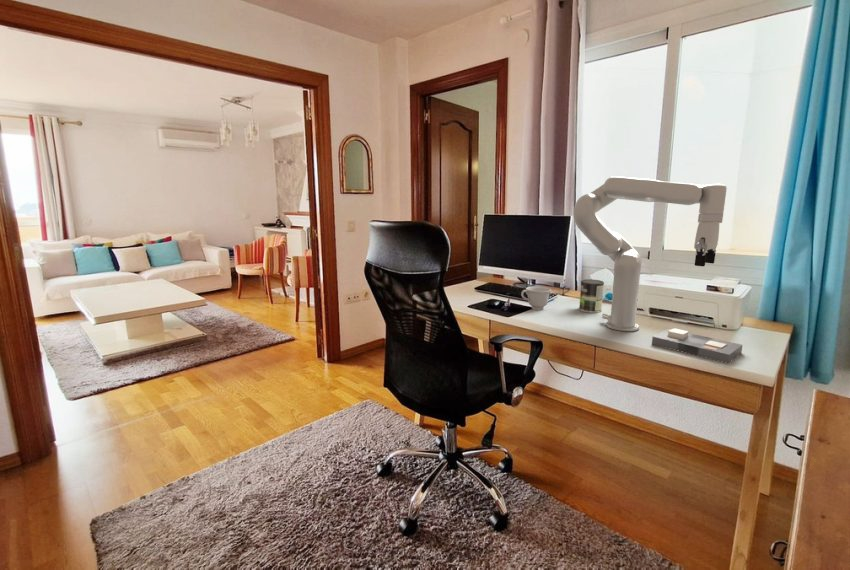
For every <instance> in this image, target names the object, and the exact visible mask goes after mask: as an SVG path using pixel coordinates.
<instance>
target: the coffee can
mask: <svg viewBox="0 0 850 570" xmlns="http://www.w3.org/2000/svg"><path fill="white" fill-rule="evenodd" d="M604 285H605V282H604V281H603V280H600V279H599V280H598V279H593V278H592V279H588V278H587V279H581V280H580V294H579V295H580V296H579V305H578V306H579V307H578V309H579V311H581V312H585V313H589V314H594V313H600V312H602V311H603V310H602V308H603V298H604V297H603V296H604Z"/></svg>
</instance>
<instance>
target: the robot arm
mask: <svg viewBox="0 0 850 570" xmlns="http://www.w3.org/2000/svg"><path fill="white" fill-rule="evenodd" d="M727 189H728V188H727V186H726V185H725V184H721V183H716V184H715V183H714V184H713V183H712V184H710V183H709V184H705V185H704V184H702V185H701V184H695V183H686V182H685V183H683V182H673V181H663V180H657V179H651V178H638V177H626V176H617V175H615V176H610V177H608V178H607V179H606V180H605V182H604V183H603V184H601V186H599V187H597V188H596V189H594V190H593V191H591V192H590V193H588V194H587V193H586V194H583V195H582V196H580V197H579V198H578V200H577V201H576V203H575V205H574V208H573V220H574V223H575V226H576V227H577V228H578V229H579V230H580V232H581V233H582V234H583V235H584V236H585V237H586V238H587V239H588V240H589V242H590V243H591V244H592V245H593V246H594V247H595V248H596V249H597V250H598V251H599V253H600V254H602V255H603V256H608V257H609V259H611V261H612V262H614V265H613V283H612V296H611V297H612V298H611V309H610V311H611V312H610V314H608V313H605V312H603V313H602V315H601V319H602V320H606V321H607V322H606V323H605V326H606V327H607V328H609V329H612V330H614V331H618V332H619V331H621V332H636V331H638V330H640V325H639V324H638V323H636V322H637V321H636V319H637V309H638V308H637V301H638V298H639V288H640V279H641V278H640V277H641V271H642V270H641V269H642V261H643V260H642V257H641V255H640V253H639V252H638V251H637V250H636V249H635V248H634V247H633V246H632V245H631V244H630V243H629V242H628V241H627V240H626V239H625V238H624V237H623V236H622V235H621V234H620V233H618V232H617V231H613V230H611V229H610V228H609V227H607V225H606V224H605V223H604V222H603V221H602V220H601V219H600V218H599V217H598V216H597V213H598V212H599V211H601V210H602V209H604V208H606V207H607V206H609V205H611V203H613V202H615V201H616V200H627V201H628V200H629V201H637V202H645V203H665V204H673V205H682V206H691V205H697V204H699V210H698V217H697V223H698V225H697V228H696V233H695V238H694V246H693V248H694V249H695V259H694V266H696V267H705V265H706V264H715V261H716V252H717V250H716V249H717V248H718V247H717V246H718V244H719V234H720V224H722V223H723V220H724V219H723V218H724V213H725V212H724V211H725V204H726V203H725V202H726V196H727Z"/></svg>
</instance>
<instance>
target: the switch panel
mask: <svg viewBox="0 0 850 570" xmlns="http://www.w3.org/2000/svg"><path fill="white" fill-rule="evenodd" d="M672 329H673V328H672ZM672 329H671V328H667V329H665V330H663V331H661V332H658V333H657V334H655V335H653V336H652V338H651V345H653V344H654V345H653V346H657V345H658V346H657V347H661V346H662V348H665V347H666V349H669V348H671V349H670V350H673V349H675V350H674V351H677V350H679V351H678V352H681V351H683V352H682V353H685V352H686V353H685V354H689V353H690V354H689V355H693V354H694V356H697V355H698V357H701V356H702V357H701V358H705V357H707V358H706V359H709V358H711V359H710V360H713V359H715V360H714V361H717V360H719V361H718V362H721V361H722V363H725V362H727V363H726V364H729V363H730V362H732V361H733V360H734V359H735V357H736V358H737V357H738V356H739V355H741V354H742V350H743V344H741V343H735V342H731V341H727V340H723V339H722V340H721V339H718V338H712V337H708V336H703V335H699V334H695V333H688V338H686V339H684V340H681V339H677V338H672V337H668V331H670V330H672ZM708 341H715V342H719V343H724V344H727V345H726V347H724V348H723V349H720V348H716V347H711V346H707V345H705V343H707V342H708ZM740 353H741V354H740ZM731 360H732V361H731Z"/></svg>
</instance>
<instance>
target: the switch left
mask: <svg viewBox="0 0 850 570" xmlns="http://www.w3.org/2000/svg"><path fill="white" fill-rule="evenodd" d="M688 333H689V330H685V329H684V330H683V329H679V328H675V327H674V328H672V330H670V331H668V337H672V338H677V339H681V340H684V339H686V338H688Z"/></svg>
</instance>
